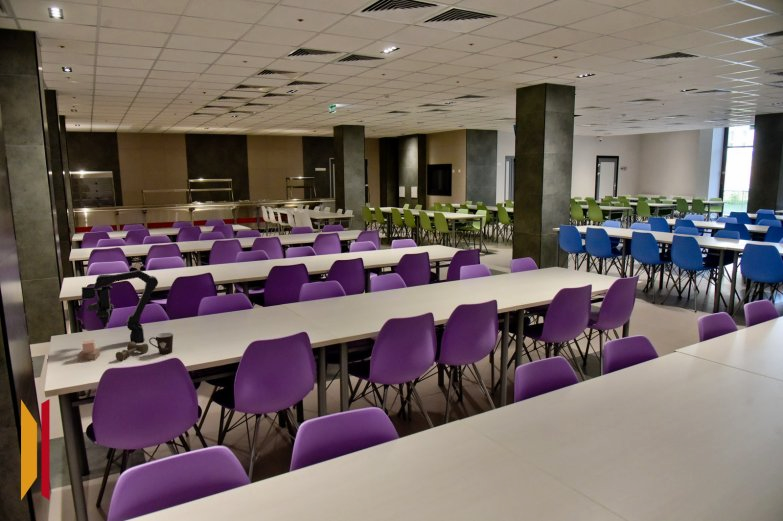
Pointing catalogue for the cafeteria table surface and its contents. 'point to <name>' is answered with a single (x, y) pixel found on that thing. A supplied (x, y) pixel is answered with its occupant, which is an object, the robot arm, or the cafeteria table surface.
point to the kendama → (131, 350)
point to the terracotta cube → (88, 346)
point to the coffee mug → (164, 343)
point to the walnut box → (88, 355)
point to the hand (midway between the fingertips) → (106, 324)
